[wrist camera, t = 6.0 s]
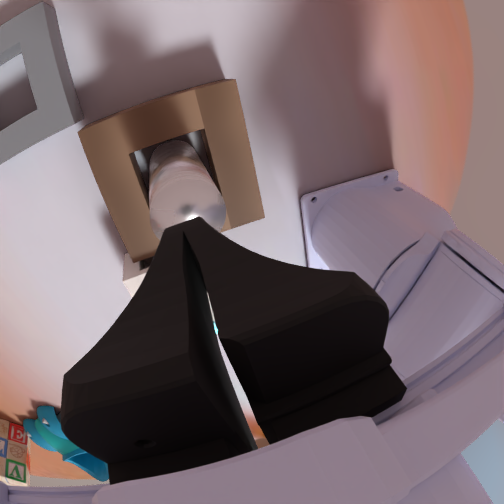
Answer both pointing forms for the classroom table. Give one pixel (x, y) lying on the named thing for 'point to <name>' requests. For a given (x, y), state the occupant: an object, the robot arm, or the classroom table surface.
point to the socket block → (164, 128)
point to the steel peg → (181, 189)
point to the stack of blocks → (14, 454)
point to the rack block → (39, 78)
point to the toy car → (62, 442)
